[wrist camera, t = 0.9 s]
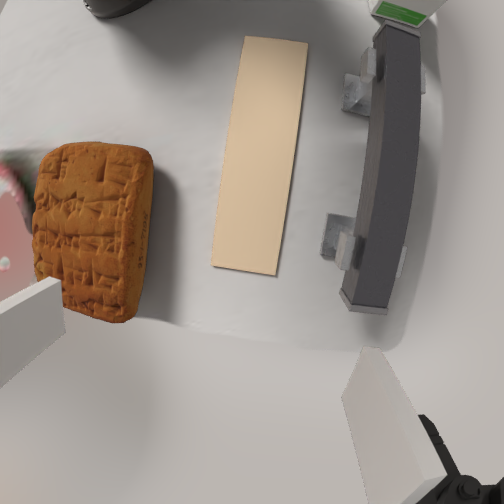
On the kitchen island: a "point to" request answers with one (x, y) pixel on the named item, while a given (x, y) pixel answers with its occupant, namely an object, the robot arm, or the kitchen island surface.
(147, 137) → the kitchen island surface
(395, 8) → the skincare box
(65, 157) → the inscribed clay slab
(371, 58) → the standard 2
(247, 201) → the mat
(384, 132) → the rail
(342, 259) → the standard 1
